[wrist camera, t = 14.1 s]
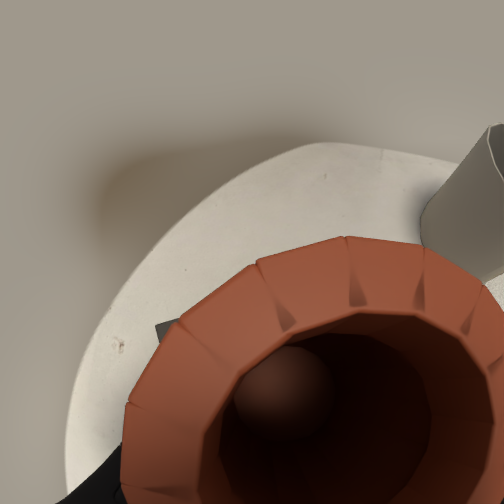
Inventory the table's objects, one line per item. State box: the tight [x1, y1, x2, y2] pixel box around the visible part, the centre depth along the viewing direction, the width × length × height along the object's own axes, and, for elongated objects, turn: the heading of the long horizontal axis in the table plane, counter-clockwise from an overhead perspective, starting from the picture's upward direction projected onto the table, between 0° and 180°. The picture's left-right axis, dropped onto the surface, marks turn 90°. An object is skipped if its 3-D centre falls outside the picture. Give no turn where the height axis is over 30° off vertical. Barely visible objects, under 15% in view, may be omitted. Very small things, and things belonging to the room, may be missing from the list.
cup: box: [420, 122, 504, 284], centre depth 16 cm, size 8×8×10 cm
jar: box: [120, 236, 504, 504], centre depth 8 cm, size 6×6×12 cm
